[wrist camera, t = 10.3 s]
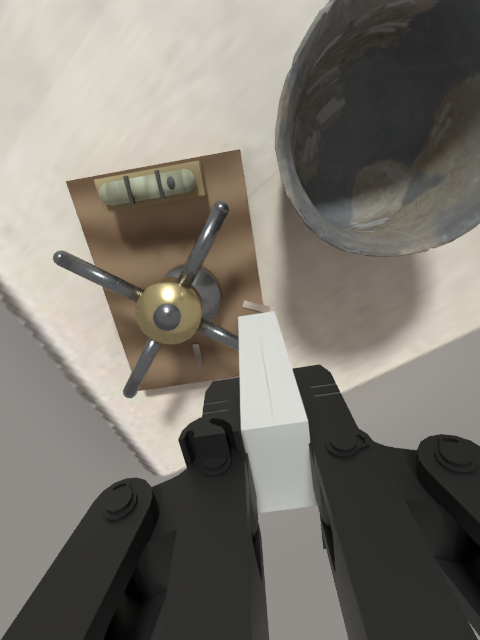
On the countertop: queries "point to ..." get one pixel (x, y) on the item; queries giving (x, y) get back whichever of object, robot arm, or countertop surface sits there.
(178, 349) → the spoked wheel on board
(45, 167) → the countertop surface
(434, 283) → the countertop surface
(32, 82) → the countertop surface
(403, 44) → the grey stone bowl
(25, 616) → the robot arm
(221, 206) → the cam capstan
